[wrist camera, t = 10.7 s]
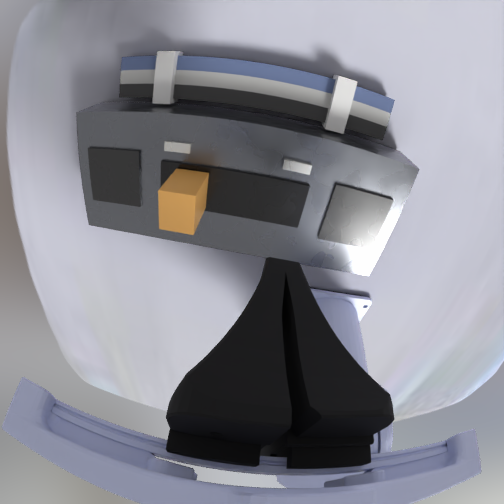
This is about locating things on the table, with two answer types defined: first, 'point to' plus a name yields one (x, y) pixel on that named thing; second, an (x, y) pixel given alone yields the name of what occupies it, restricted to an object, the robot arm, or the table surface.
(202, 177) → the lever
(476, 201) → the table surface
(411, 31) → the table surface
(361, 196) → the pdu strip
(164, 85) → the cords
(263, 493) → the robot arm
